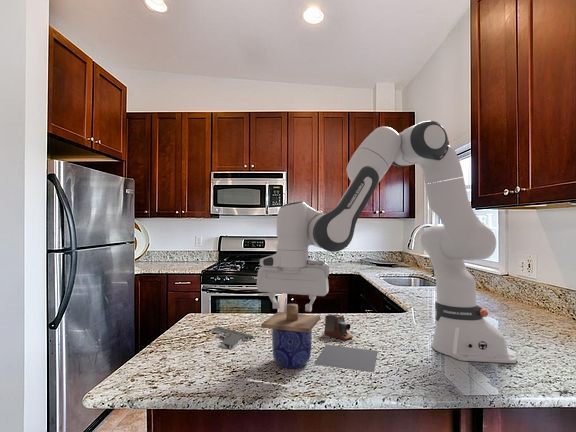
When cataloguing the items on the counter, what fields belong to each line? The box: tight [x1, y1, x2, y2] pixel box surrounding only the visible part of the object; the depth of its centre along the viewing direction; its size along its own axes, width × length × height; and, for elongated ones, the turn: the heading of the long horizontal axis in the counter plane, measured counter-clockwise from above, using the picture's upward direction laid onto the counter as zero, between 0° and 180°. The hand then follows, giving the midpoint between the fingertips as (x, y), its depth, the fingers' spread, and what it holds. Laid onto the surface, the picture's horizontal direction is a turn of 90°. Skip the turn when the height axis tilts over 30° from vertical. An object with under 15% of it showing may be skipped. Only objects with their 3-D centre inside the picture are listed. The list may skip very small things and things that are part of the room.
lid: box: [260, 303, 321, 333], centre depth 93 cm, size 13×13×5 cm
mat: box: [313, 344, 379, 373], centre depth 96 cm, size 16×16×1 cm
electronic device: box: [323, 314, 354, 342], centre depth 115 cm, size 4×10×8 cm, turn 43°
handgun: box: [211, 326, 254, 350], centre depth 113 cm, size 2×19×12 cm
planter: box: [271, 329, 313, 370], centre depth 92 cm, size 11×11×11 cm
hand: (292, 309), depth 93 cm, fingers open, 8 cm apart
